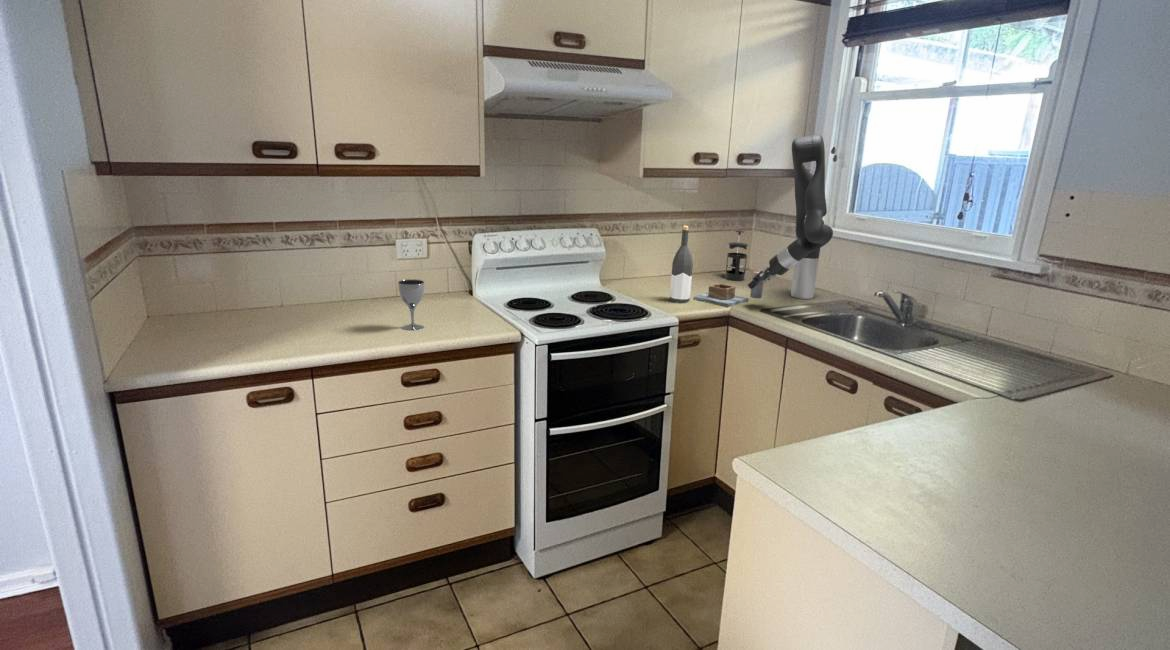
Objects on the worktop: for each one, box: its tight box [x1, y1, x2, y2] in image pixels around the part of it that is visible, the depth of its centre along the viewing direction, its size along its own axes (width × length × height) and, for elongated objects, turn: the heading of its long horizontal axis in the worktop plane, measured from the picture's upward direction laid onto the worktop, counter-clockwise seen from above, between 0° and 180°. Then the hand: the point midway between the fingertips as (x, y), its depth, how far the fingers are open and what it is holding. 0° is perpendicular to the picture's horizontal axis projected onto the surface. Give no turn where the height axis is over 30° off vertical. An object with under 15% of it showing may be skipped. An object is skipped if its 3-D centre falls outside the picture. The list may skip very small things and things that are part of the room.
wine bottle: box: [669, 225, 694, 304], centre depth 249 cm, size 8×8×30 cm
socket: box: [693, 283, 749, 308], centre depth 257 cm, size 16×16×6 cm
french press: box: [724, 230, 749, 282], centre depth 297 cm, size 12×9×23 cm
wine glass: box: [397, 278, 425, 331], centre depth 202 cm, size 8×8×15 cm
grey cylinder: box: [750, 270, 765, 299], centre depth 248 cm, size 4×4×10 cm
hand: (752, 285), depth 249 cm, fingers closed on grey cylinder, 4 cm apart
